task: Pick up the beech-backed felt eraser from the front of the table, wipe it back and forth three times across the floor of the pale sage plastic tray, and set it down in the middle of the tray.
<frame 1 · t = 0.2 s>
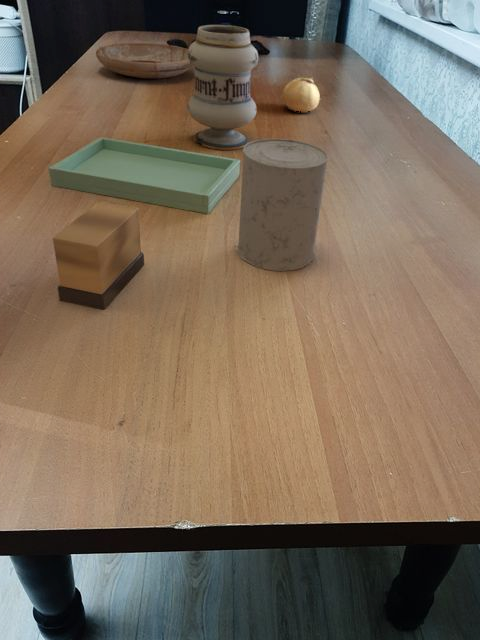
apothecary jar: (221, 142, 103), on the table
onion: (299, 111, 124), on the table
eraser: (104, 281, 62), on the table
grey cylinder: (275, 253, 71), on the table
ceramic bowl: (147, 74, 140), on the table
tray: (150, 180, 86), on the table
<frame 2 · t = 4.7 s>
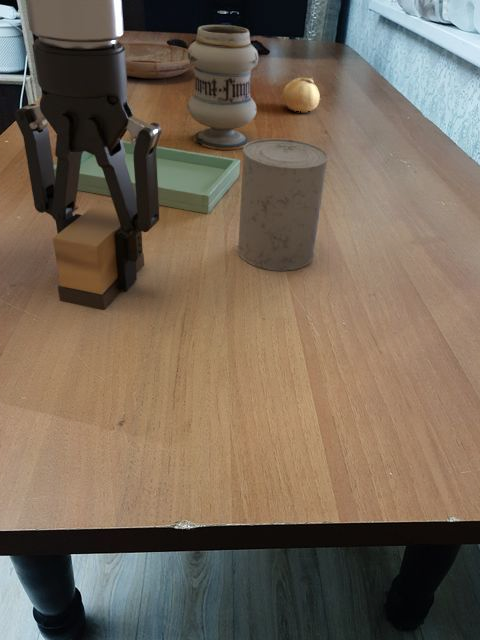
hand: (104, 279, 62), 0 cm above the table, tool pointing down, fingers closed on eraser, 5 cm apart
eraser: (104, 281, 62), on the table, touching gripper
everything else where it was.
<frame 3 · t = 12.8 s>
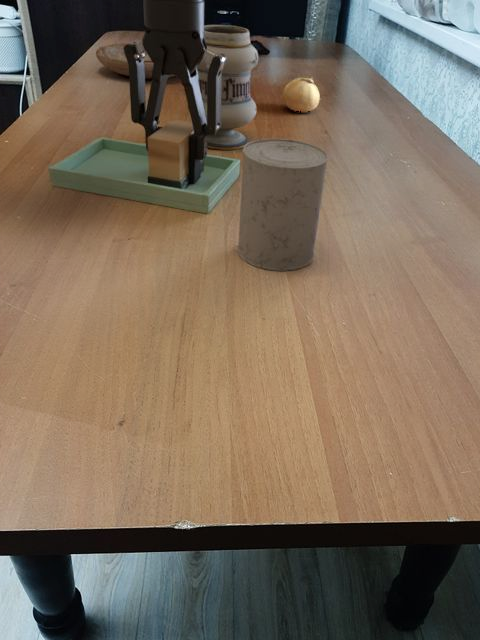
hand: (176, 176, 84), 1 cm above the table, tool pointing down, fingers closed on eraser, 5 cm apart
eraser: (177, 178, 84), point 1 cm above the table, touching gripper
everything else where it was.
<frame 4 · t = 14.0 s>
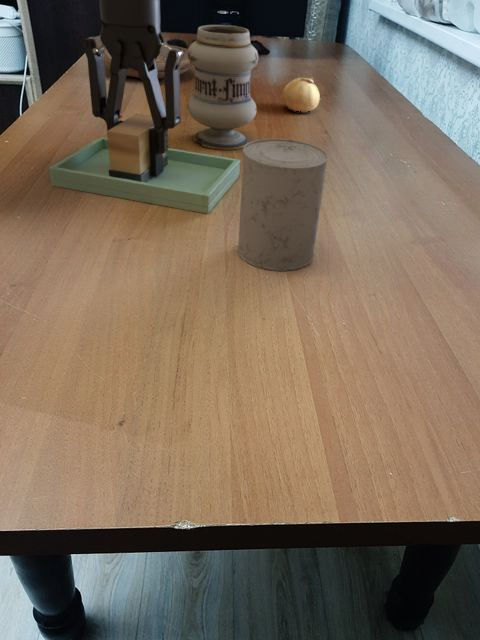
hand: (139, 170, 85), 1 cm above the table, tool pointing down, fingers closed on eraser, 5 cm apart
eraser: (139, 172, 85), point 1 cm above the table, touching gripper
everything else where it was.
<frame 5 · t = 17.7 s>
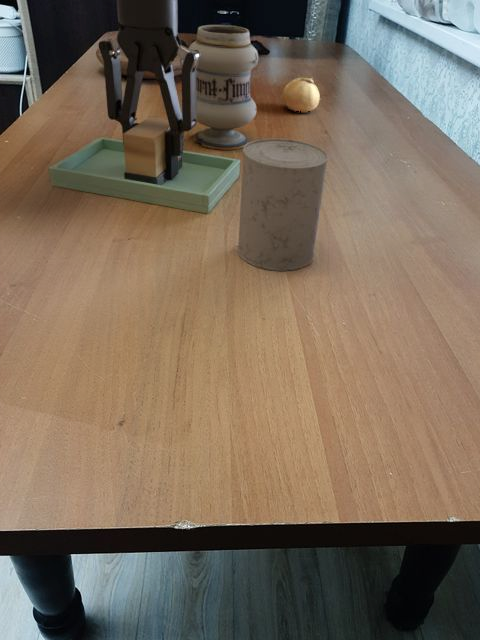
hand: (154, 173, 85), 1 cm above the table, tool pointing down, fingers closed on eraser, 5 cm apart
eraser: (154, 174, 85), point 1 cm above the table, touching gripper
everything else where it was.
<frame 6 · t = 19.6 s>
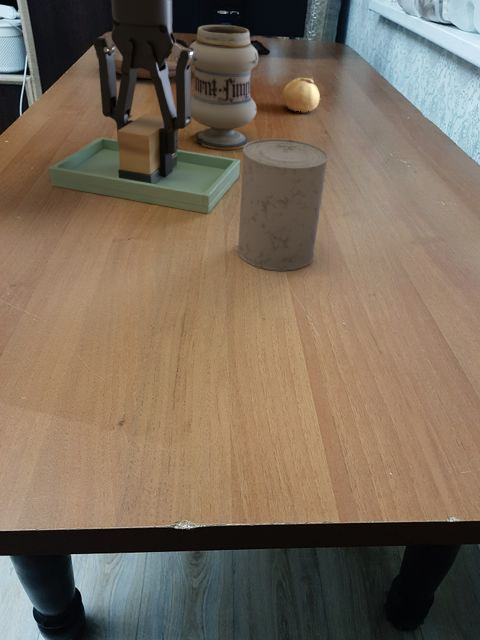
hand: (149, 170, 85), 2 cm above the table, tool pointing down, fingers closed on eraser, 5 cm apart
eraser: (149, 172, 85), point 1 cm above the table, touching gripper
everything else where it was.
when the fingers open (2 cm above the table, at t = 22.2 s): eraser stays where it is, resting on tray.
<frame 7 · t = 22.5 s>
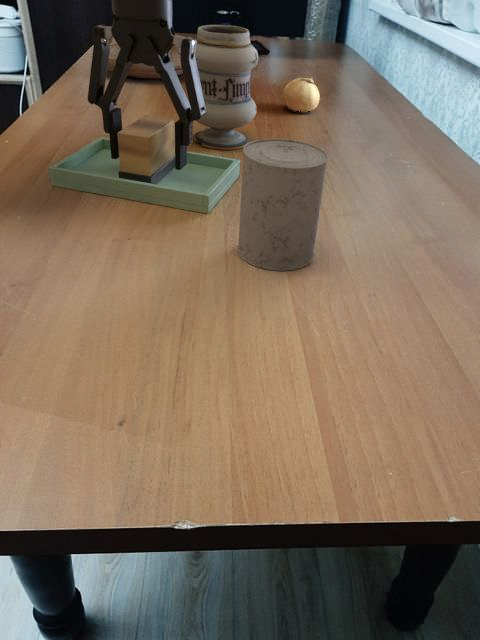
hand: (149, 161, 84), 3 cm above the table, tool pointing down, fingers open, 9 cm apart
eraser: (149, 173, 85), point 1 cm above the table, touching tray
everything else where it was.
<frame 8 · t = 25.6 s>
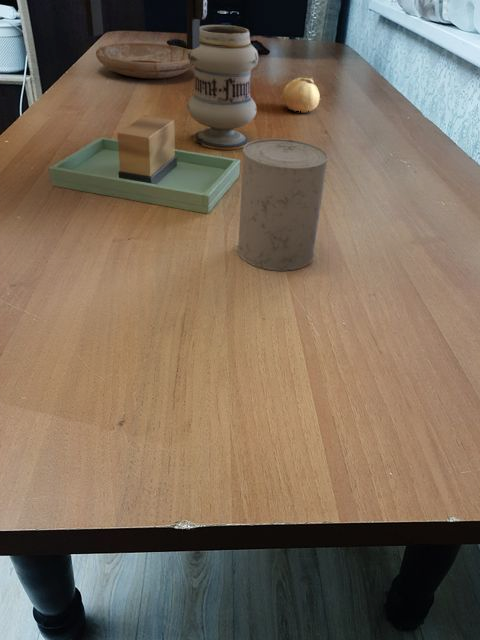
hand: (143, 41, 74), 19 cm above the table, tool pointing down, fingers open, 13 cm apart
nothing on the table moved.
at the end: eraser inside the target area in the tray (0.1 cm from its centre), point 1.0 cm above the tray's base; the gripper is holding nothing; eraser moved 29.9 cm from its start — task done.
